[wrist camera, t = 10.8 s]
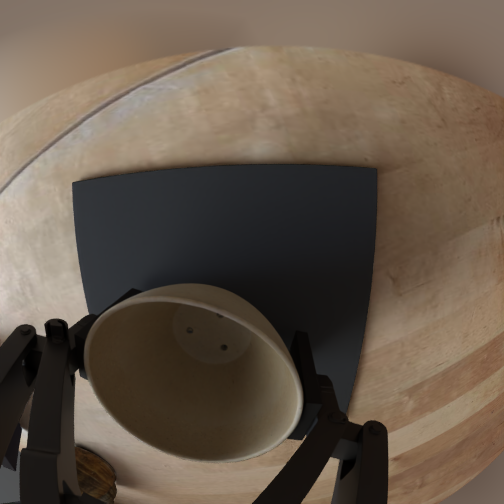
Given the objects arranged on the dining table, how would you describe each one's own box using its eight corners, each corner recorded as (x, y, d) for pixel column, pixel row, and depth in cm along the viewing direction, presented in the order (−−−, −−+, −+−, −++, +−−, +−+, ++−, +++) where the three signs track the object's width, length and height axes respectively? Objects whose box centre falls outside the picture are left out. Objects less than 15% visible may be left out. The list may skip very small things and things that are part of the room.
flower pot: (218, 405, 19) (199, 478, 12) (117, 316, 18) (59, 371, 11) (325, 332, 17) (350, 410, 10) (211, 215, 15) (165, 237, 9)
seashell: (120, 490, 27) (105, 523, 19) (70, 461, 26) (51, 492, 19) (127, 470, 24) (108, 512, 16) (68, 434, 24) (41, 471, 16)
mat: (374, 168, 15) (377, 168, 14) (341, 420, 19) (343, 425, 19) (76, 182, 16) (71, 182, 16) (121, 405, 21) (119, 409, 20)
